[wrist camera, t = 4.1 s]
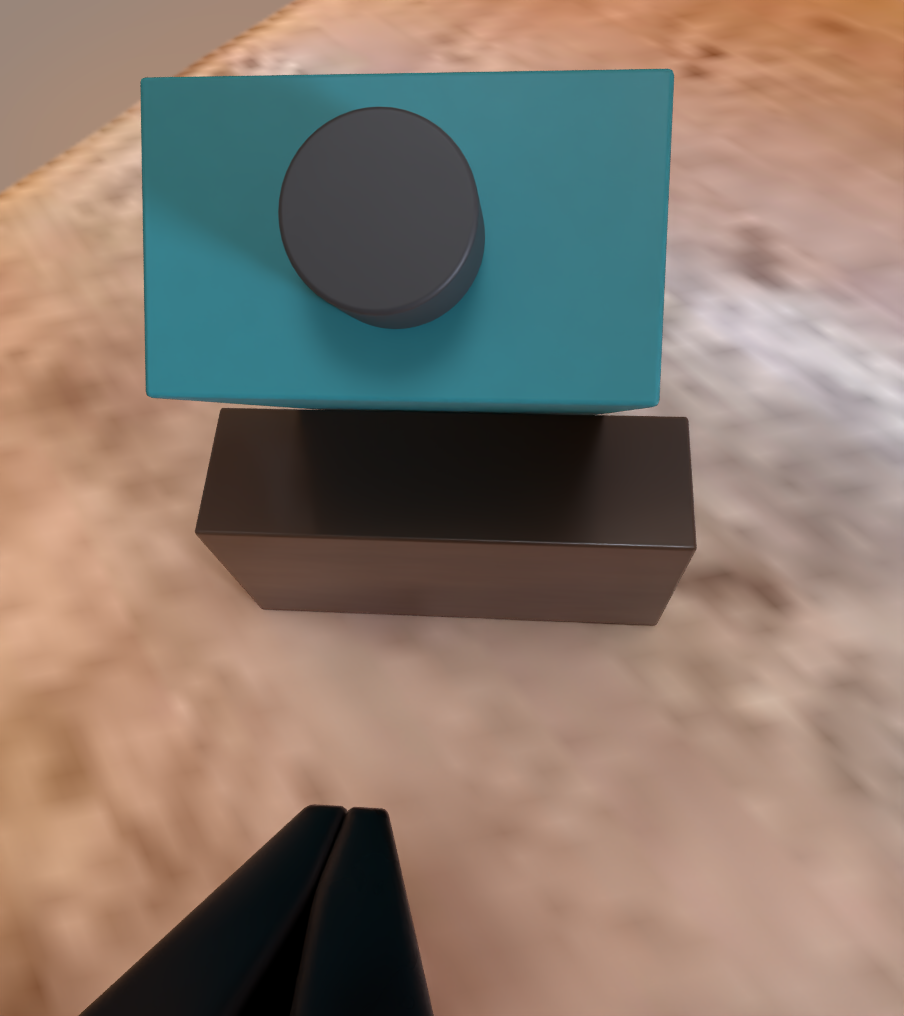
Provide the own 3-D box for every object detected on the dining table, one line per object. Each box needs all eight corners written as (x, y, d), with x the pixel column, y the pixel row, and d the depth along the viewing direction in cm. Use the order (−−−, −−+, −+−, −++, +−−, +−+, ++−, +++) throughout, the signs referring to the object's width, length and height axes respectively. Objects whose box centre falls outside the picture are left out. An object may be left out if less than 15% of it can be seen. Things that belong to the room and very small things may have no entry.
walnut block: (656, 626, 20) (697, 550, 16) (261, 609, 21) (193, 533, 17) (652, 514, 22) (688, 415, 17) (278, 503, 23) (219, 406, 18)
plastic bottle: (586, 643, 20) (706, 250, 8) (323, 632, 21) (34, 249, 8) (586, 315, 24) (663, -298, 12) (365, 312, 25) (212, -273, 12)
